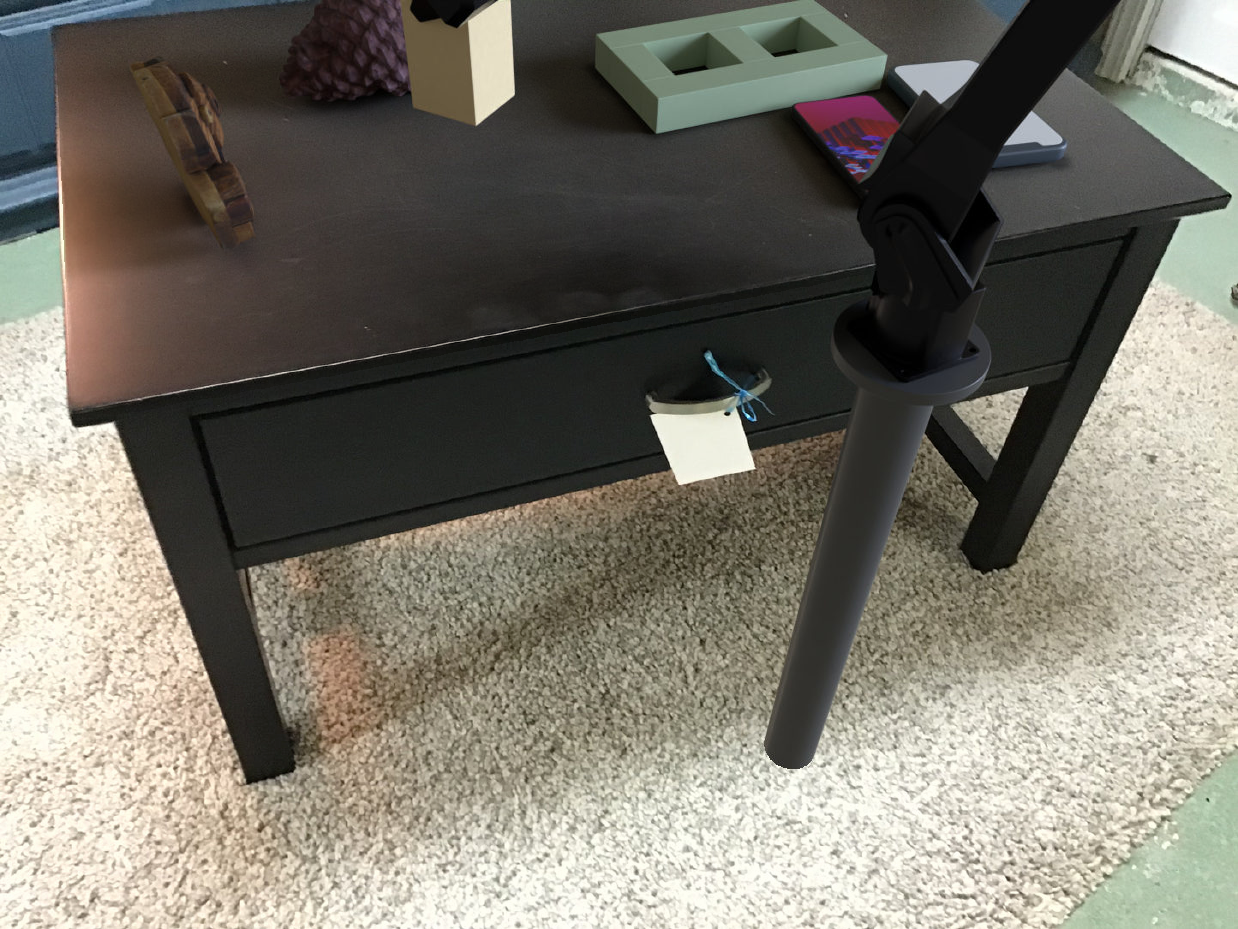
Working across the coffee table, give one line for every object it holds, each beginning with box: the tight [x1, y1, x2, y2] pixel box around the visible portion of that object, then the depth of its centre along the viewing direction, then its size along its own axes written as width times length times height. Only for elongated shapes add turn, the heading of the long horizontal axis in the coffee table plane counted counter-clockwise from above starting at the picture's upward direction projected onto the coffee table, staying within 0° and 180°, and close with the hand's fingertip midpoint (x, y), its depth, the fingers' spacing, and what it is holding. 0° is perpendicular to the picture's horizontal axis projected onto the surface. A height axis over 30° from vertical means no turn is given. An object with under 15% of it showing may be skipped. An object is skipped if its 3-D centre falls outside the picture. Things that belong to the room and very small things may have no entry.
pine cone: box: [278, 0, 411, 103], centre depth 84 cm, size 18×10×10 cm
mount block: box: [594, 0, 888, 135], centre depth 89 cm, size 12×21×3 cm, turn 114°
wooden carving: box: [129, 56, 256, 251], centre depth 70 cm, size 16×5×10 cm, turn 36°
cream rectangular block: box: [400, 0, 516, 127], centre depth 69 cm, size 5×5×13 cm
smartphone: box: [790, 94, 902, 200], centre depth 81 cm, size 8×1×15 cm
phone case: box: [886, 58, 1068, 169], centre depth 85 cm, size 9×2×16 cm
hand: (439, 0), depth 69 cm, fingers closed on cream rectangular block, 5 cm apart
